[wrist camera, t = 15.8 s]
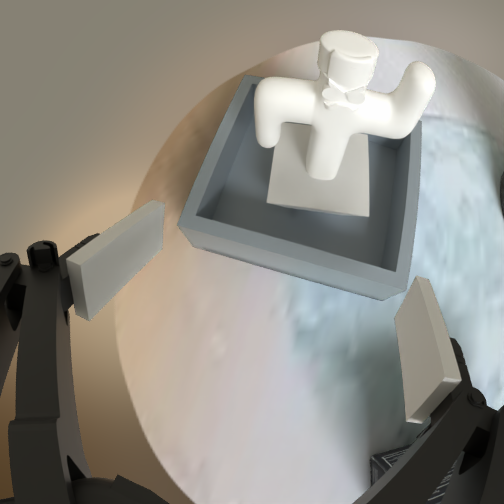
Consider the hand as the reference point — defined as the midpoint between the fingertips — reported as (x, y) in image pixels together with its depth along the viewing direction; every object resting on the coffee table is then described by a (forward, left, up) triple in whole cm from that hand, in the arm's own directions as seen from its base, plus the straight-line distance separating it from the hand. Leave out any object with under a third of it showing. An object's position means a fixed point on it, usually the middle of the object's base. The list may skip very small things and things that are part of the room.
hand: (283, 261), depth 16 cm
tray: (0, -9, -10) cm, 13 cm away
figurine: (-1, -9, -9) cm, 13 cm away
